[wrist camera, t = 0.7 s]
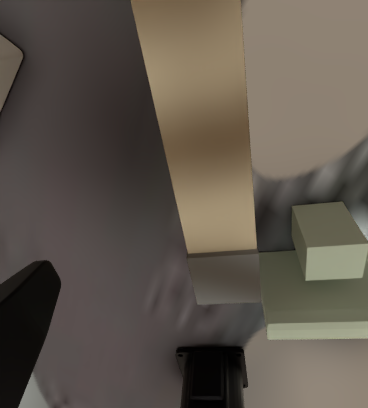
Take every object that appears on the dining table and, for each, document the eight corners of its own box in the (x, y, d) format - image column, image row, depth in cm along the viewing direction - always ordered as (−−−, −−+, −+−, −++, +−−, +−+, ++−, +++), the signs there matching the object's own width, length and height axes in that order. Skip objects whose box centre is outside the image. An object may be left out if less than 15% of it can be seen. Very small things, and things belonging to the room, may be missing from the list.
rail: (252, 239, 21) (261, 302, 17) (201, 243, 22) (197, 304, 17) (225, -123, 12) (230, -206, 7) (136, -97, 12) (89, -158, 8)
